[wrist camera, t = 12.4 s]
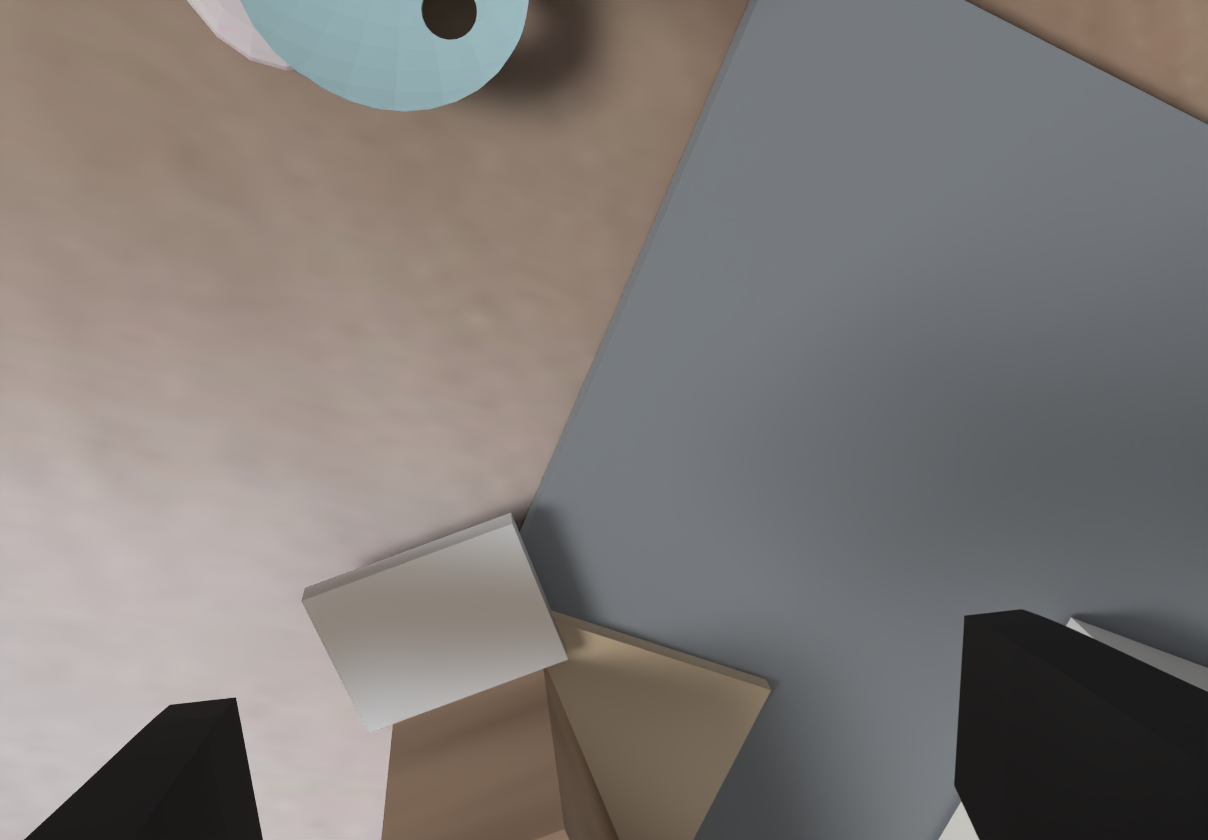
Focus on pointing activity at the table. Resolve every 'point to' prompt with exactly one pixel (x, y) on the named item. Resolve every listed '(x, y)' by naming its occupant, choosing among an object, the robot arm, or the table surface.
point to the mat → (894, 395)
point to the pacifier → (370, 46)
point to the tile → (959, 830)
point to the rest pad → (653, 726)
